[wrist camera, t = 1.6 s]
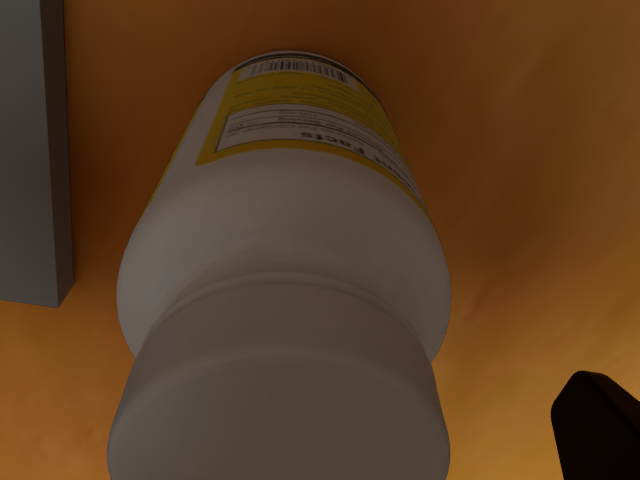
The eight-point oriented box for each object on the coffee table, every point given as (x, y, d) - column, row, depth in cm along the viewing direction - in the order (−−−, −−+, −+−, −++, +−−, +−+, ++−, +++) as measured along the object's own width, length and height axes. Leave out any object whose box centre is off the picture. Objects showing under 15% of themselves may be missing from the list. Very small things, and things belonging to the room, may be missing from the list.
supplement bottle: (277, 261, 16) (245, 625, 8) (152, 127, 14) (-83, 451, 6) (428, 168, 15) (586, 503, 6) (316, -3, 12) (333, 180, 4)
